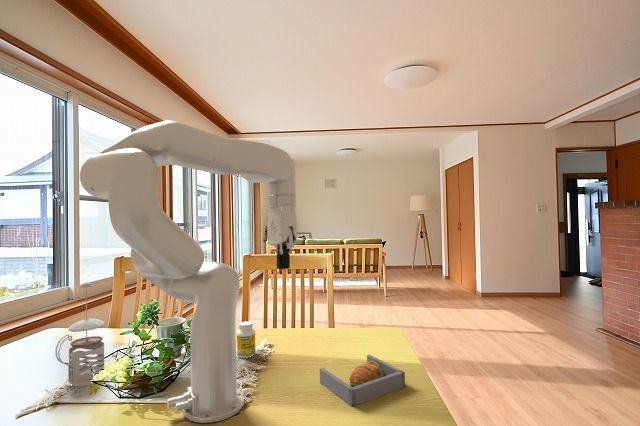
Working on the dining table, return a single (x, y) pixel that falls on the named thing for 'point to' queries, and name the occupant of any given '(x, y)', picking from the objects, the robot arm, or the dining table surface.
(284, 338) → the dining table surface
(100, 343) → the french press
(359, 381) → the pastry
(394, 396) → the dining table surface
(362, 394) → the gray u-shaped fence
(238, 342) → the supplement bottle
